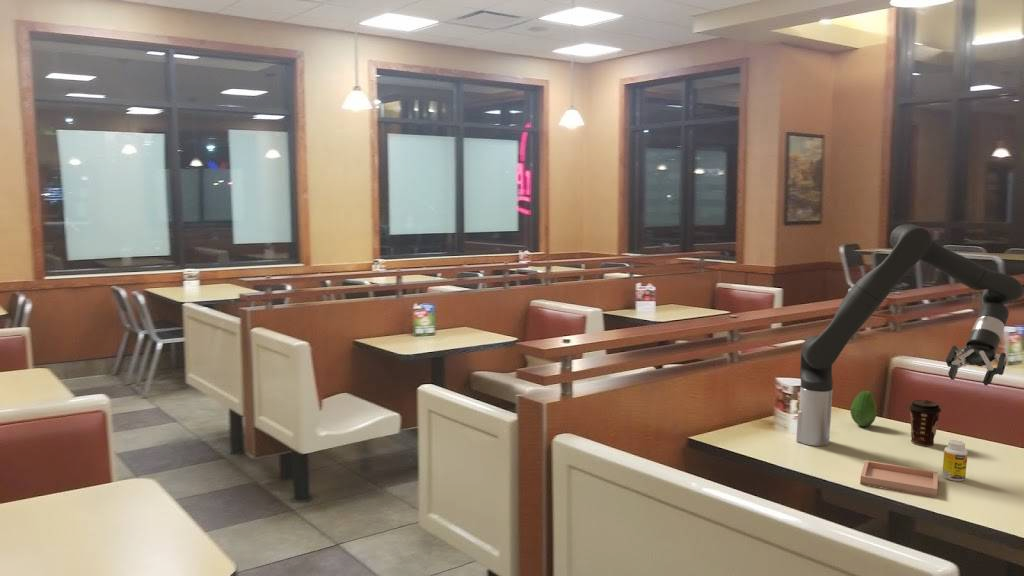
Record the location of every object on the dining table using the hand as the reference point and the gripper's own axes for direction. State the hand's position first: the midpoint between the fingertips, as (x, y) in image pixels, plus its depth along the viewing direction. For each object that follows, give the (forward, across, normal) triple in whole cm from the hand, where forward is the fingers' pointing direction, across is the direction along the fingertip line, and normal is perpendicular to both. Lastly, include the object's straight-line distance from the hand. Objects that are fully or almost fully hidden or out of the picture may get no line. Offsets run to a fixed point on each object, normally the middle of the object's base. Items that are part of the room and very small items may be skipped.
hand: (968, 381), depth 215 cm
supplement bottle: (+25, +1, +11) cm, 27 cm away
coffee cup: (+8, -16, +28) cm, 33 cm away
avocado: (+6, -36, +30) cm, 48 cm away
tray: (+35, -7, 0) cm, 36 cm away
